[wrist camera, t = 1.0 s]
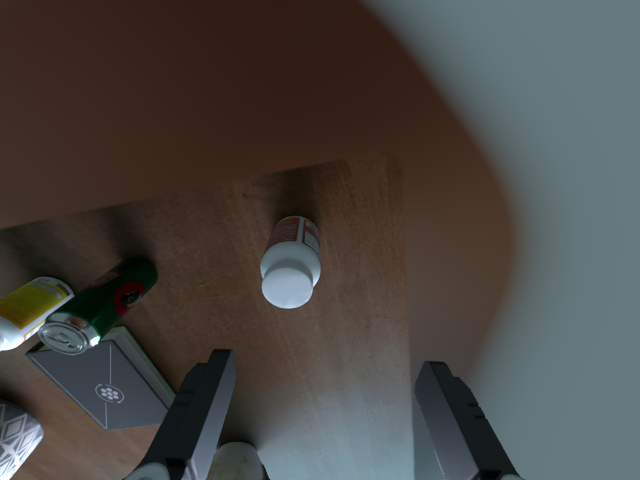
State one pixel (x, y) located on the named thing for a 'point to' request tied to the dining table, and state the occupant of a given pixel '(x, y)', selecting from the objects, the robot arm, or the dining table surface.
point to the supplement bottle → (30, 309)
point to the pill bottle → (291, 262)
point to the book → (110, 380)
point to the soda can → (98, 307)
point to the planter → (16, 437)
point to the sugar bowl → (236, 463)
